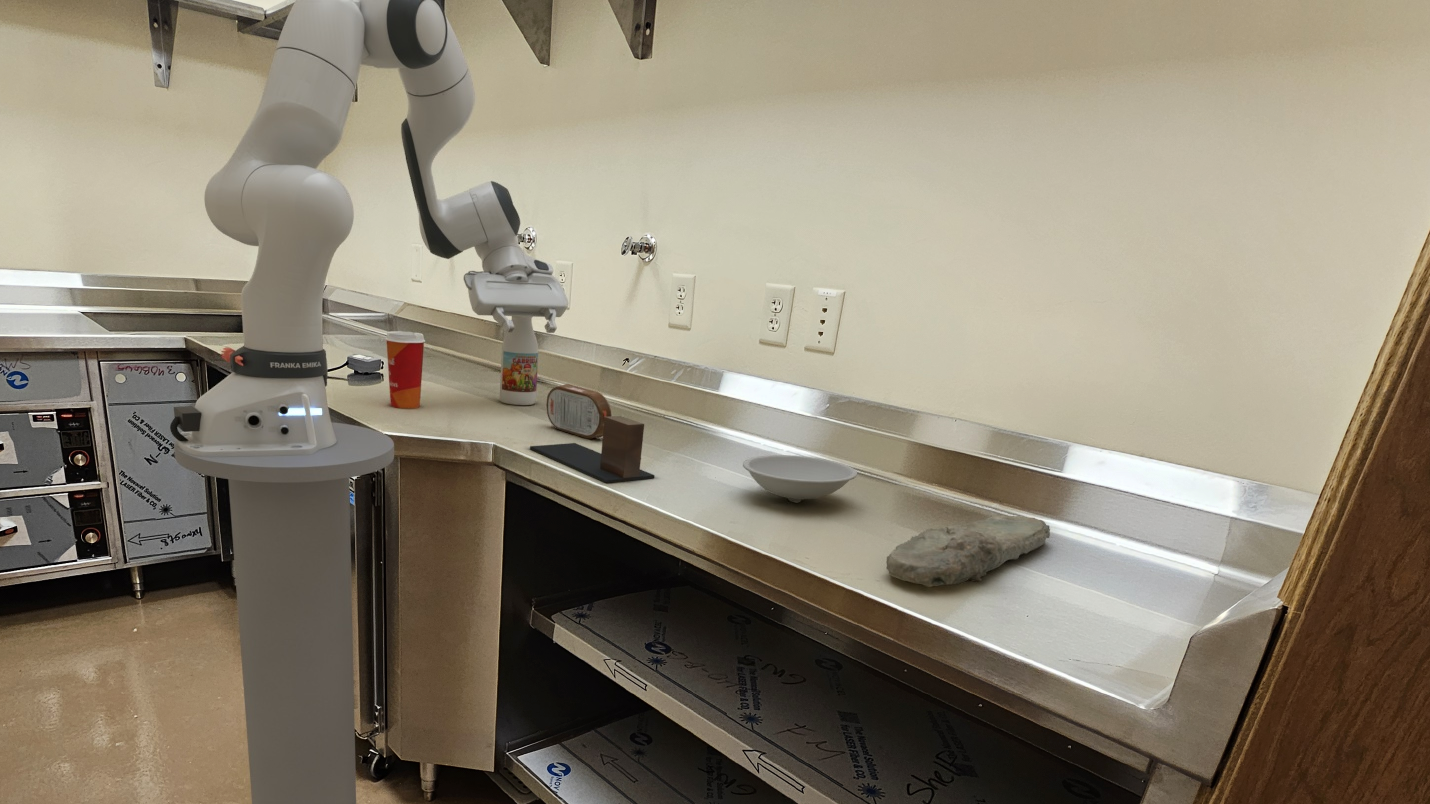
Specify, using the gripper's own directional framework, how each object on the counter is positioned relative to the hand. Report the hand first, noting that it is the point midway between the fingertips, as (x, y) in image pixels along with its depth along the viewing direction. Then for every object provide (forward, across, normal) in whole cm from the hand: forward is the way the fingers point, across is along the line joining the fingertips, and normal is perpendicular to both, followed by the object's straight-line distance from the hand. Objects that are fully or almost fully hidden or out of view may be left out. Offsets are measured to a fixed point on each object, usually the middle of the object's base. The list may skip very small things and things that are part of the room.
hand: (531, 330), depth 161 cm
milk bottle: (+3, +5, +20) cm, 21 cm away
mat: (+37, -10, -14) cm, 41 cm away
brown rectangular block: (+43, -10, -20) cm, 48 cm away
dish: (+57, +7, -34) cm, 67 cm away
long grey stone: (+76, +9, -53) cm, 93 cm away
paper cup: (+2, -20, +21) cm, 29 cm away
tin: (+24, 0, -1) cm, 24 cm away
